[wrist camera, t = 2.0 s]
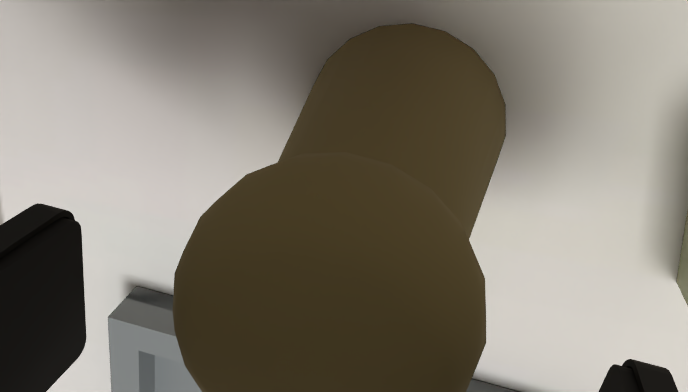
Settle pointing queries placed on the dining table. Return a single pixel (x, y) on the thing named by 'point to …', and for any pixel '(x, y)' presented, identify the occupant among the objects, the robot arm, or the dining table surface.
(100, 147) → the dining table surface
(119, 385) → the slate tray
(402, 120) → the brown pawn
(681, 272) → the olive block
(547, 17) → the dining table surface
